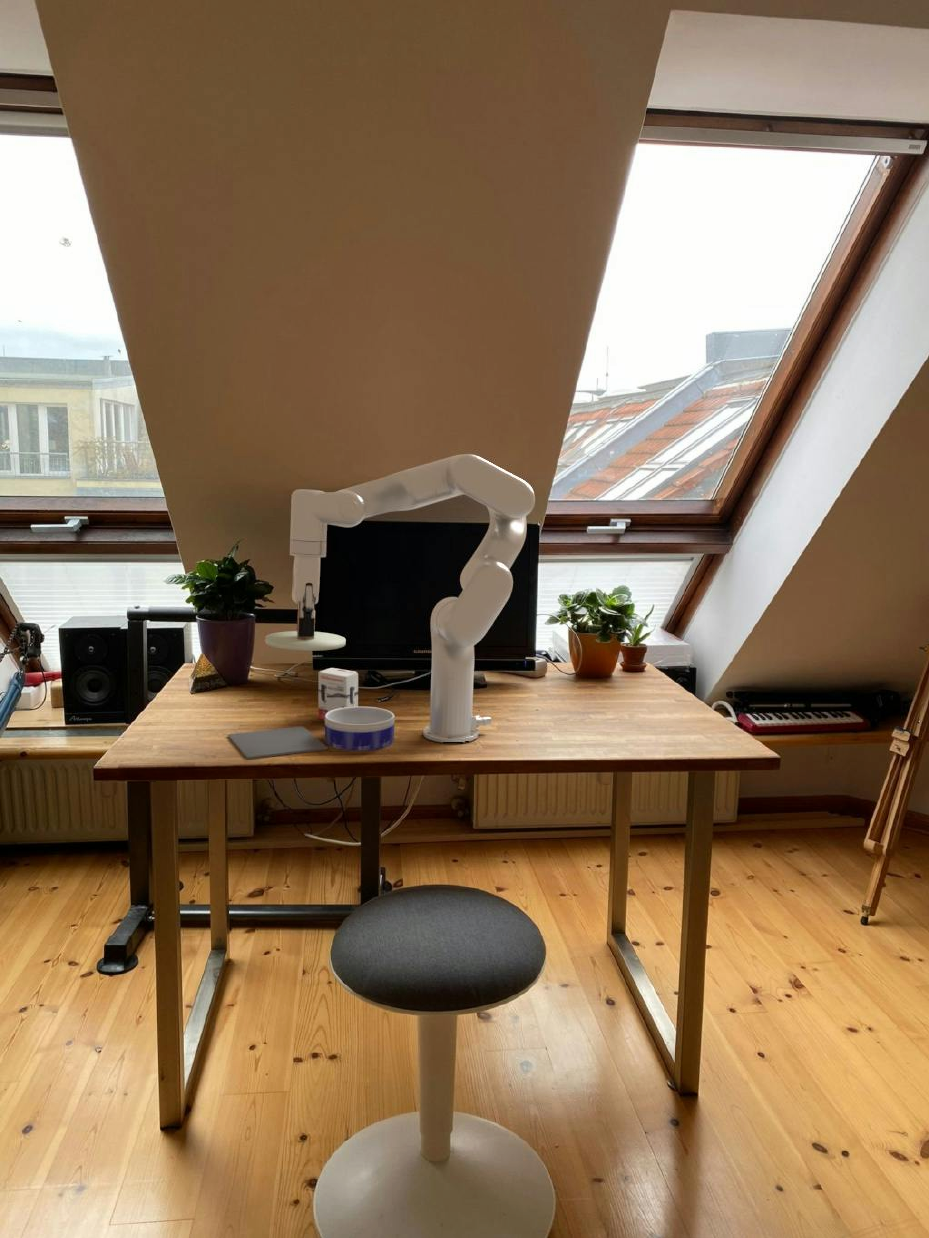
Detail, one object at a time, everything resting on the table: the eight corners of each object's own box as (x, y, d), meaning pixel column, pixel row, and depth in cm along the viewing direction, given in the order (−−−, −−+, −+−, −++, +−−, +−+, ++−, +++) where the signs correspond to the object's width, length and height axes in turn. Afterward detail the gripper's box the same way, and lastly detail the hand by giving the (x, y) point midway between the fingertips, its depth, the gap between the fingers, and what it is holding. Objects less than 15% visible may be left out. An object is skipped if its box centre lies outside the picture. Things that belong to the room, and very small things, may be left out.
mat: (302, 728, 198) (302, 726, 198) (327, 749, 184) (327, 747, 184) (227, 736, 190) (227, 734, 190) (247, 759, 176) (247, 757, 176)
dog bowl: (321, 732, 196) (321, 706, 195) (388, 729, 200) (388, 704, 199) (327, 753, 182) (328, 725, 181) (399, 750, 186) (400, 723, 185)
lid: (328, 634, 196) (329, 604, 195) (357, 648, 182) (359, 616, 181) (254, 636, 188) (255, 605, 187) (279, 652, 173) (280, 617, 172)
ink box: (317, 718, 207) (317, 670, 205) (330, 714, 211) (330, 667, 209) (346, 724, 202) (346, 675, 201) (358, 720, 207) (359, 671, 205)
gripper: (287, 544, 189) (284, 627, 191) (292, 551, 173) (290, 641, 176) (321, 546, 191) (318, 628, 193) (330, 553, 175) (327, 642, 178)
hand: (305, 633), depth 184 cm, fingers closed on lid, 3 cm apart
